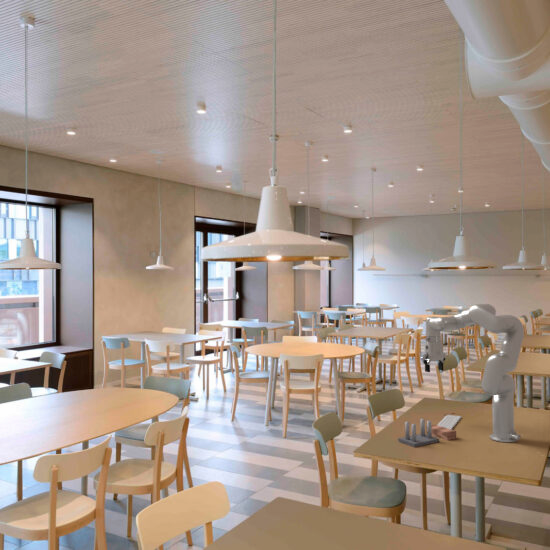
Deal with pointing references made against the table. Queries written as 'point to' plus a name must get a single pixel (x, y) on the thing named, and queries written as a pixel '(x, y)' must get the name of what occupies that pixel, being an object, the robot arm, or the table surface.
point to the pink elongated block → (442, 432)
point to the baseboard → (449, 421)
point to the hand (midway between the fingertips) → (434, 371)
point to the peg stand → (418, 435)
